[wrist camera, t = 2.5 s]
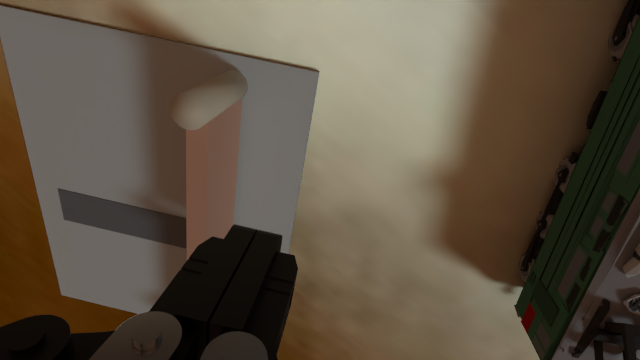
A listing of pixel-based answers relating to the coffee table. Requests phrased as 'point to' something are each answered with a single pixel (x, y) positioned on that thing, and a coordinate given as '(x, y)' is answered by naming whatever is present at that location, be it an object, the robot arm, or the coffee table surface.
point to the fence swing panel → (210, 153)
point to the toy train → (593, 229)
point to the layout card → (140, 148)
